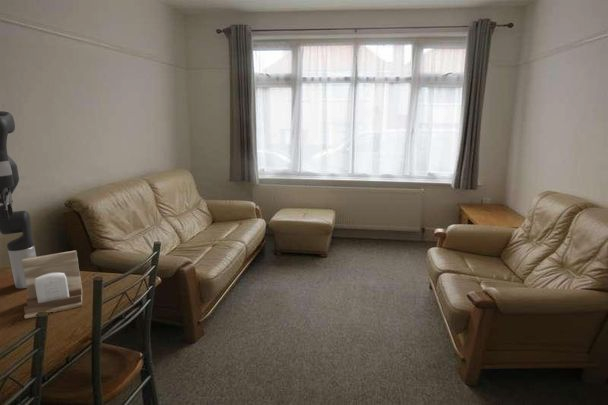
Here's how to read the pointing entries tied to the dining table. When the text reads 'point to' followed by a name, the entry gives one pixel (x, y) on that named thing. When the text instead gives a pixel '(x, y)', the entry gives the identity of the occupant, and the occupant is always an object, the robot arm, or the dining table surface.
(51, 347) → the dining table surface
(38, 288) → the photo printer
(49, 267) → the cleat board
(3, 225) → the robot arm
